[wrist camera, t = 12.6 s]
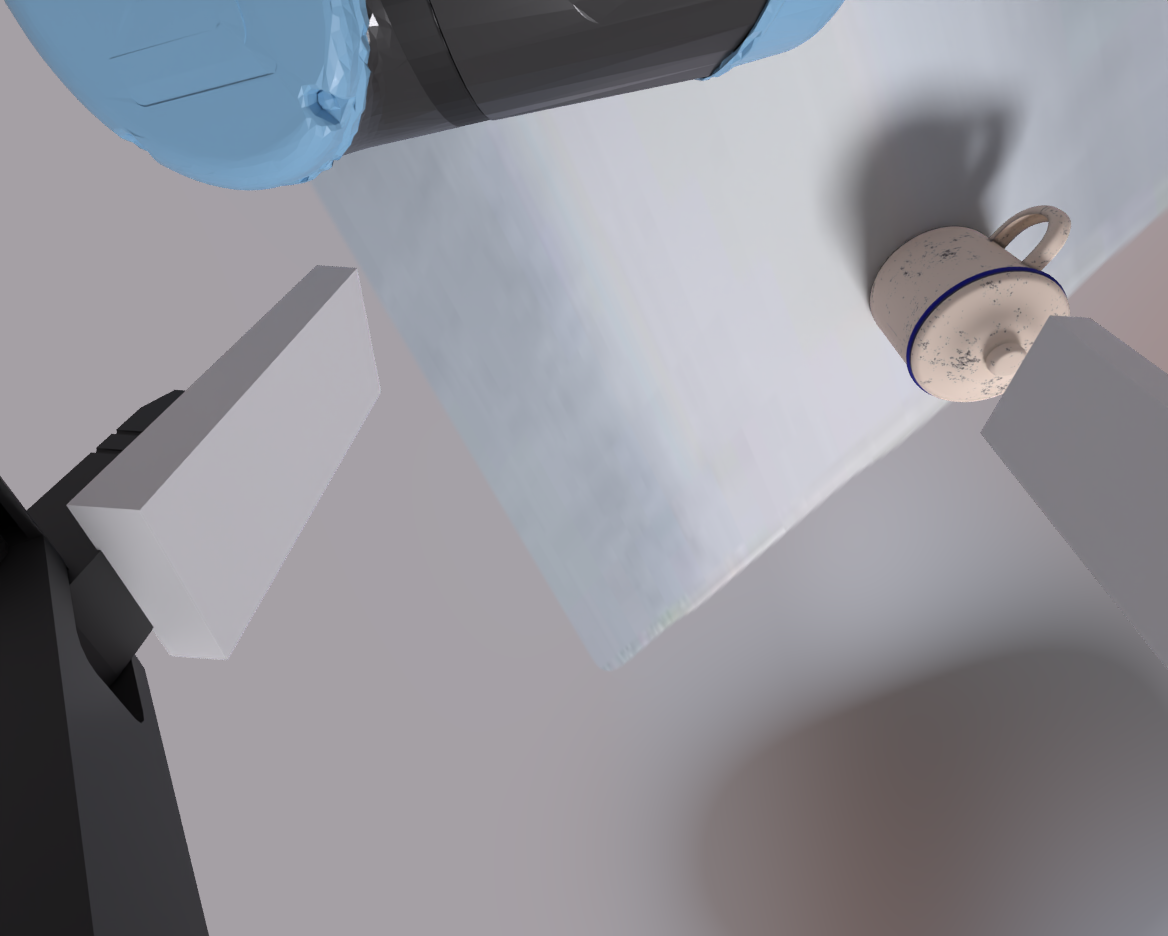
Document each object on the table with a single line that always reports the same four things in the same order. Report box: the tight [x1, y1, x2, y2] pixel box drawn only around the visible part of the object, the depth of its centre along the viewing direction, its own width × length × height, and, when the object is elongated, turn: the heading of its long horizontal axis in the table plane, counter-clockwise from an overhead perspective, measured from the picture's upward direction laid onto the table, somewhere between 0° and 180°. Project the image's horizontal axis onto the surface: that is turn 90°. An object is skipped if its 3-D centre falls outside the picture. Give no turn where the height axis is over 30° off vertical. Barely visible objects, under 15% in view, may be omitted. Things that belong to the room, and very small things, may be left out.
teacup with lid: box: [870, 206, 1071, 402], centre depth 38 cm, size 12×9×12 cm
